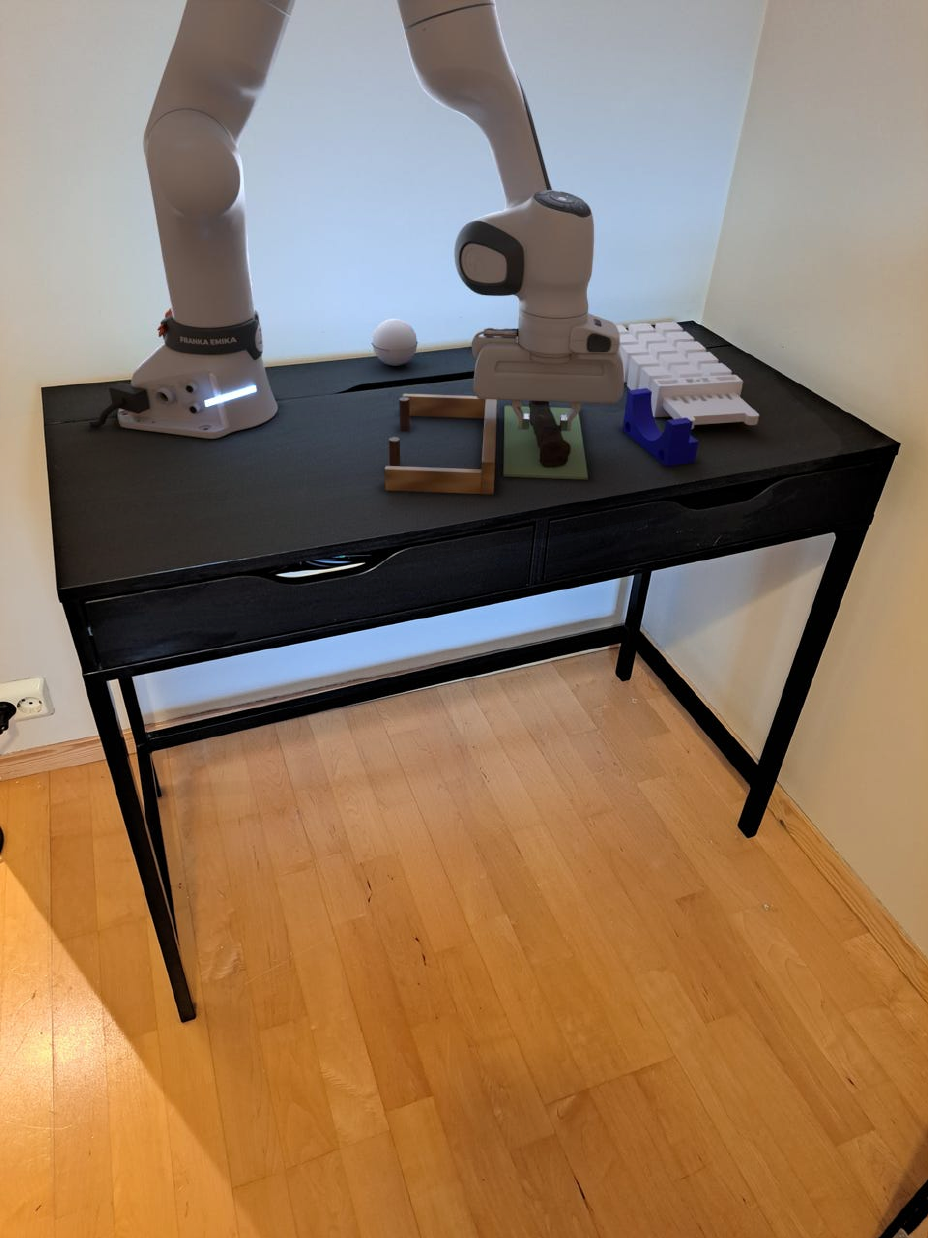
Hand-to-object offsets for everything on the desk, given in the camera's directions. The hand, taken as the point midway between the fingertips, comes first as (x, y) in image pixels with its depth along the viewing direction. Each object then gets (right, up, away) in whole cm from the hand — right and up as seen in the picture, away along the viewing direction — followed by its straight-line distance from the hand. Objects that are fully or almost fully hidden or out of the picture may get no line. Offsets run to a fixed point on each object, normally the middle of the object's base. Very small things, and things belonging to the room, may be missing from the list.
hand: (544, 428), depth 125 cm
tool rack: (-14, -3, -2) cm, 14 cm away
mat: (0, -2, +1) cm, 2 cm away
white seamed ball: (-22, +15, +23) cm, 35 cm away
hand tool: (-1, -1, +1) cm, 2 cm away
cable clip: (+16, -2, +1) cm, 16 cm away
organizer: (+22, +9, +17) cm, 29 cm away
